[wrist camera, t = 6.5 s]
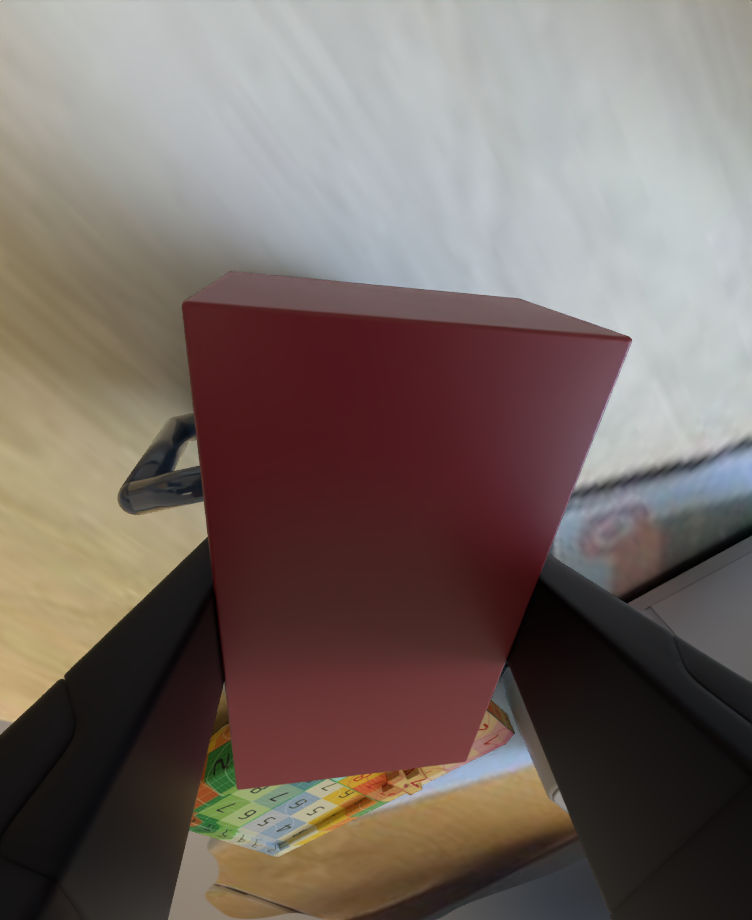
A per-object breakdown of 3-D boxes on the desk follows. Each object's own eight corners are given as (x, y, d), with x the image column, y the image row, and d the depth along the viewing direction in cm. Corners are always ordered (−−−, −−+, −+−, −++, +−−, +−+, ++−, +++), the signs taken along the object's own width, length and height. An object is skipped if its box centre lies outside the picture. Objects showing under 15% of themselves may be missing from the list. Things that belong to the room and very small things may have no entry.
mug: (403, 273, 16) (481, 311, 9) (421, 437, 19) (488, 554, 12) (140, 323, 15) (8, 405, 8) (210, 482, 19) (157, 630, 12)
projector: (487, 668, 29) (542, 799, 23) (795, 498, 25) (971, 596, 19) (567, 747, 37) (626, 862, 31) (810, 627, 34) (938, 728, 27)
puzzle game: (521, 749, 26) (276, 873, 29) (491, 678, 30) (279, 795, 34) (425, 669, 20) (136, 835, 24) (404, 595, 24) (160, 746, 28)
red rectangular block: (227, 270, 7) (179, 301, 4) (520, 298, 7) (635, 337, 5) (251, 659, 11) (235, 791, 8) (431, 646, 12) (467, 763, 9)
